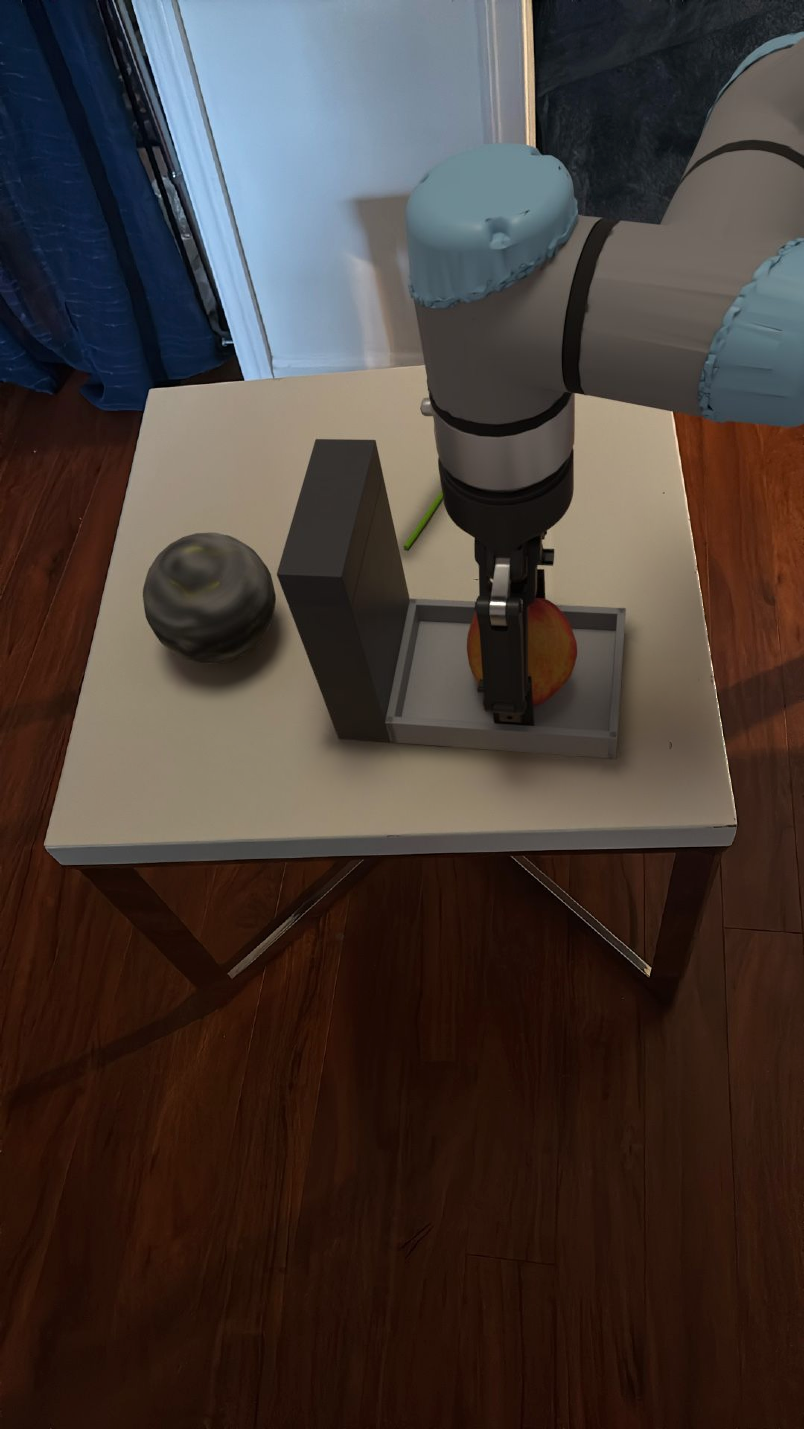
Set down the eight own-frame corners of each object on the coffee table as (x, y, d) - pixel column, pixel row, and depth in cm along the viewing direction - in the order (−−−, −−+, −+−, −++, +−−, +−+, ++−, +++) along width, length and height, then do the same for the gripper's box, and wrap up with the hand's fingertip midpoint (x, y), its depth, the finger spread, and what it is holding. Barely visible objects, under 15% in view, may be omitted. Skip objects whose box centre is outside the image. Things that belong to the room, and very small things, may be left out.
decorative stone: (267, 696, 80) (232, 617, 72) (150, 681, 82) (102, 603, 74) (303, 594, 85) (274, 509, 76) (191, 583, 87) (151, 499, 79)
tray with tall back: (624, 630, 79) (637, 442, 63) (615, 759, 73) (627, 588, 57) (365, 617, 83) (315, 438, 67) (338, 738, 77) (276, 574, 61)
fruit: (592, 651, 77) (593, 582, 70) (554, 740, 73) (552, 676, 67) (493, 624, 79) (485, 556, 73) (452, 709, 76) (439, 644, 69)
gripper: (462, 322, 63) (488, 564, 82) (406, 596, 53) (450, 801, 72) (587, 321, 62) (584, 567, 81) (556, 603, 51) (560, 811, 70)
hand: (521, 677), depth 76 cm, fingers closed on fruit, 8 cm apart
